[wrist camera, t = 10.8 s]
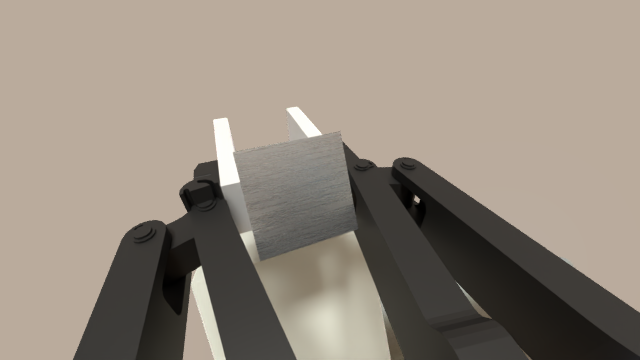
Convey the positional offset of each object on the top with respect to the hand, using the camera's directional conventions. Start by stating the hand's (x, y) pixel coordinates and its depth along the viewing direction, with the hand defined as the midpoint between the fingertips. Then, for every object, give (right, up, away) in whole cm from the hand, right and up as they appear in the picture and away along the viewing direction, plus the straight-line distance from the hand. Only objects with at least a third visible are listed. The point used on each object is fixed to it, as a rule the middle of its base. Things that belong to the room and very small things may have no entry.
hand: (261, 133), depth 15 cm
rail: (0, -4, +4) cm, 6 cm away
